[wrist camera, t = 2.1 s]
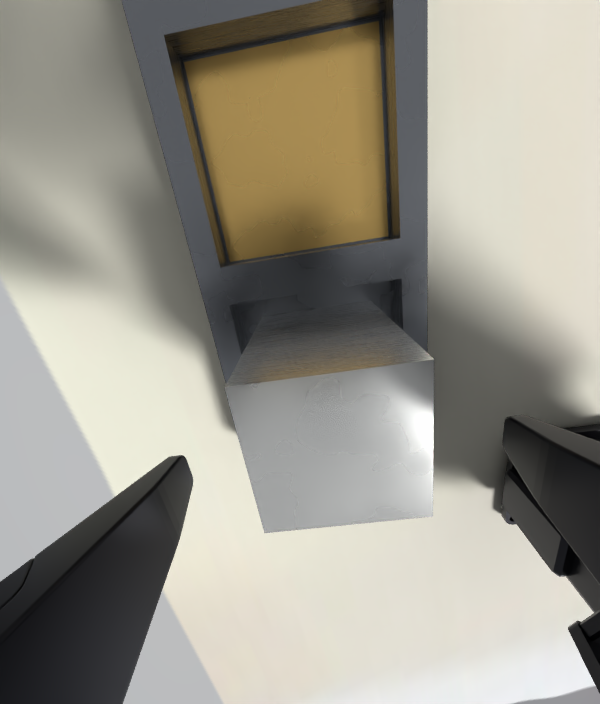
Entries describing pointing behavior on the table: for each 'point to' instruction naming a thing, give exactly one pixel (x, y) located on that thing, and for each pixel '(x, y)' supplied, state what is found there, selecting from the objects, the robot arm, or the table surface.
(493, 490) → the table surface
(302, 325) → the metal block
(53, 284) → the table surface
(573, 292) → the table surface
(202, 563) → the table surface
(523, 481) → the robot arm
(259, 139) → the gray compartment tray
